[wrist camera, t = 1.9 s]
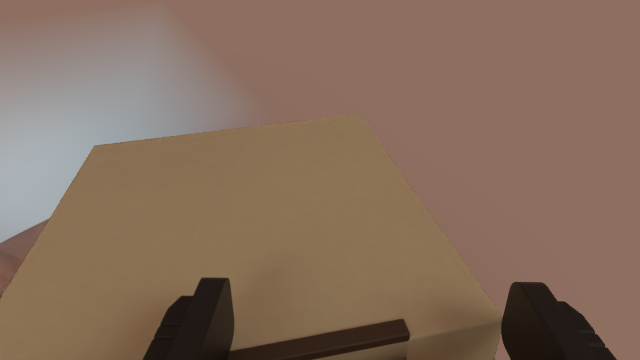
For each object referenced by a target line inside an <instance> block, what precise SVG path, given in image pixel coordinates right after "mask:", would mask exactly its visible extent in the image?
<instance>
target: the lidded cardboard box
mask: <svg viewBox="0 0 640 360" xmlns="http://www.w3.org/2000/svg"><path fill="white" fill-rule="evenodd" d="M202 277H218V278H229V280H230V286H231V294H232V303H233V312H234V335H233V341H232V345H231V348H230V352H229V356H228V360H493V359H494V357H495V353H496V349H497V346H498V342H499V338H500V335H501V324H502V319H503V317H502V316H501V314H500V313H499V311H498V310H497V308H496V307H495V305H494V304H493V302H492V301H491V300H490V298H489V297H488V295H487V294H486V293H485V291H484V290H483V288H482V287H481V285H480V284H479V282H478V281H477V280H476V278H475V277H474V276H473V274H472V272H471V271H470V270H469V268H468V267H467V265H466V264H465V263H464V261H463V260H462V258H461V257H460V256H459V254H458V253H457V251H456V250H455V248H454V247H453V245H452V244H451V243H450V241H449V240H448V238H447V237H446V235H445V234H444V233H443V231H442V230H441V228H440V227H439V226H438V224H437V223H436V221H435V220H434V218H433V217H432V215H431V214H430V213H429V211H428V210H427V209H426V207H425V206H424V204H423V203H422V202H421V200H420V198H419V197H418V196H417V194H416V193H415V191H414V190H413V188H412V187H411V186H410V184H409V183H408V181H407V180H406V178H405V177H404V176H403V174H402V173H401V171H400V170H399V169H398V167H397V166H396V164H395V163H394V161H393V160H392V159H391V157H390V155H389V154H388V153H387V151H386V150H385V148H384V147H383V145H382V144H381V143H380V141H379V140H378V138H377V137H376V135H375V134H374V132H373V131H372V130H371V128H370V127H369V126H368V124H367V123H366V121H365V120H364V118H363V117H362V116H361V114H352V115H345V116H336V117H328V118H319V119H311V120H303V121H294V122H287V123H278V124H270V125H261V126H253V127H245V128H237V129H229V130H220V131H212V132H203V133H195V134H187V135H179V136H170V137H162V138H153V139H145V140H137V141H129V142H120V143H112V144H104V145H96V146H94V147H93V149H92V150H91V152H90V154H89V155H88V157H87V158H86V160H85V162H84V163H83V165H82V167H81V168H80V170H79V171H78V173H77V175H76V176H75V178H74V180H73V181H72V183H71V184H70V186H69V188H68V189H67V191H66V193H65V194H64V196H63V197H62V199H61V201H60V203H59V204H58V206H57V208H56V209H55V211H54V212H53V214H52V216H51V217H50V219H49V220H48V222H47V224H46V225H45V227H44V229H43V230H42V232H41V233H40V235H39V237H38V238H37V240H36V242H35V243H34V245H33V246H32V248H31V250H30V251H29V253H28V254H27V256H26V258H25V259H24V261H23V263H22V264H21V266H20V267H19V269H18V271H17V272H16V274H15V276H14V277H13V279H12V280H11V282H10V284H9V285H8V287H7V289H6V290H5V292H4V293H3V295H2V297H1V298H0V360H143V357H144V355H145V353H146V351H147V349H148V347H149V345H150V343H151V341H152V340H154V335H155V333H156V331H157V329H158V327H160V323H161V321H162V319H163V317H164V315H165V313H166V311H167V309H168V308H169V307H170V306H171V305H172V304H173V303H174V302H175V301H176V300H177V299H178V298H179V297H181V296H193V295H194V293H195V290H196V288H197V286H198V283H199V281H200V279H201V278H202Z"/></svg>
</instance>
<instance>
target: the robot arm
mask: <svg viewBox="0 0 640 360" xmlns="http://www.w3.org/2000/svg"><path fill="white" fill-rule="evenodd" d="M501 334H502V340H503V343H504V346H505V348H506V350H507V352H508V355H509V356H510V359H511V360H616V358H615V357H614V356H613V354H612V353H611V352H610V351H609V349H608V348H605V344H604V343H603V341H602V340H601V339H600V337H599V336H598V335H597V334H595V331H594V329H593V328H592V327H591V326H590V324H589V323H588V322H587V320H586V319H585V318H584V316H583V315H582V314H580V313H579V312H578V311H576V310H575V309H574V308H572V307H571V306H570V305H568V304H567V303H566V302H561V301H557V300H556V298H555V297H554V296H553V294H552V293H551V291H550V290H549V289H548V287H547V286H546V285H545V284H544V283H541V282H514V283H513V284H512V285H511V287H510V291H509V295H508V299H507V303H506V307H505V311H504V315H503V319H502V324H501ZM233 335H234V312H233V303H232V294H231V286H230V280H229V278H218V277H202V278H201V279H200V281H199V283H198V286H197V288H196V290H195V293H194V295H193V296H181V297H179V298H178V299H177V300H176V301H175V302H174V303H173V304H172V305H171V306H170V307H169V308H168V309H167V311H166V313H165V315H164V317H163V319H162V321H161V323H160V327H158V329H157V331H156V333H155V335H154V340H152V341H151V343H150V345H149V347H148V349H147V351H146V353H145V355H144V357H143V360H228V356H229V352H230V348H231V345H232V341H233Z"/></svg>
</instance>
